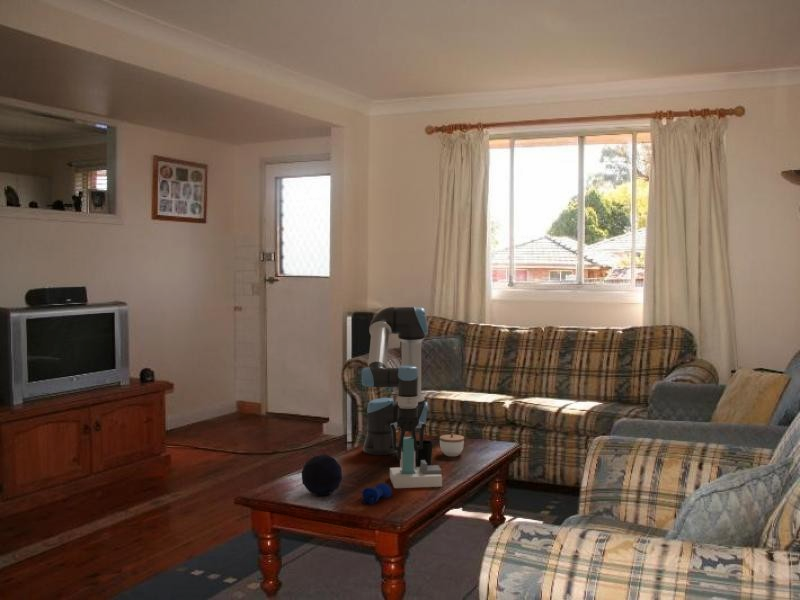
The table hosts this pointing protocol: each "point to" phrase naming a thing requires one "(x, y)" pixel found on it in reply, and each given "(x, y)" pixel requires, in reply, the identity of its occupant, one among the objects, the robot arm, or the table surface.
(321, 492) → the decorative orb
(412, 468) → the plug
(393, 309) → the robot arm
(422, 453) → the cup
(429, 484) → the socket box
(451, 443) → the lidded jar
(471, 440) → the table surface
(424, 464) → the plate
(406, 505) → the table surface
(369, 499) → the toy
